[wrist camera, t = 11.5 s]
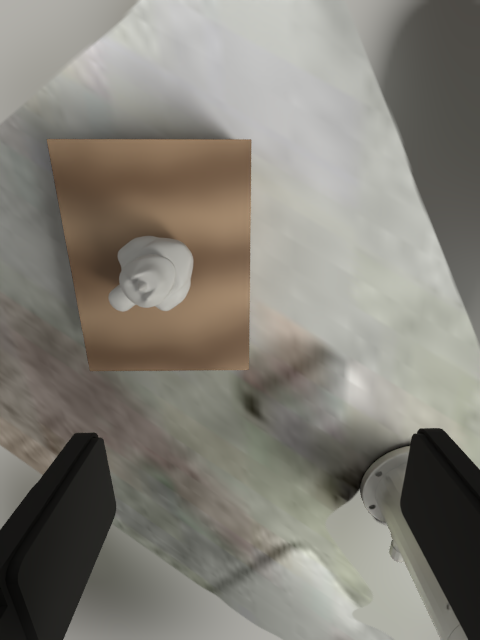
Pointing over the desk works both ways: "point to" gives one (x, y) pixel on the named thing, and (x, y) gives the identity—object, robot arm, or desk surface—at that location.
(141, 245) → the grey lumpy piece
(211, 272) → the walnut block
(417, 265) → the desk surface
